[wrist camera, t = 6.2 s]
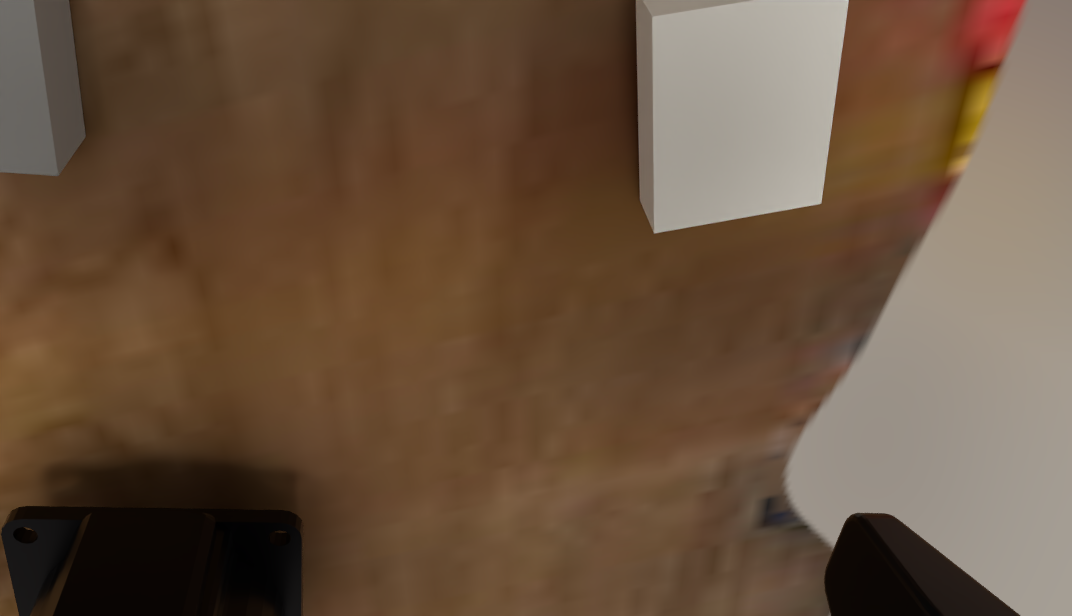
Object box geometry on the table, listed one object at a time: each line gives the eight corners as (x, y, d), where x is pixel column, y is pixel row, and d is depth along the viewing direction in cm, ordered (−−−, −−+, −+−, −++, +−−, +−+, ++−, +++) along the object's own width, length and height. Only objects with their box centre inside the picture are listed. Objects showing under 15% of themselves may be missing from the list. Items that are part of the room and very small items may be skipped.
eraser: (653, 235, 20) (823, 204, 20) (650, 17, 17) (852, -18, 17) (639, 201, 21) (801, 171, 21) (633, -13, 18) (824, -45, 18)
